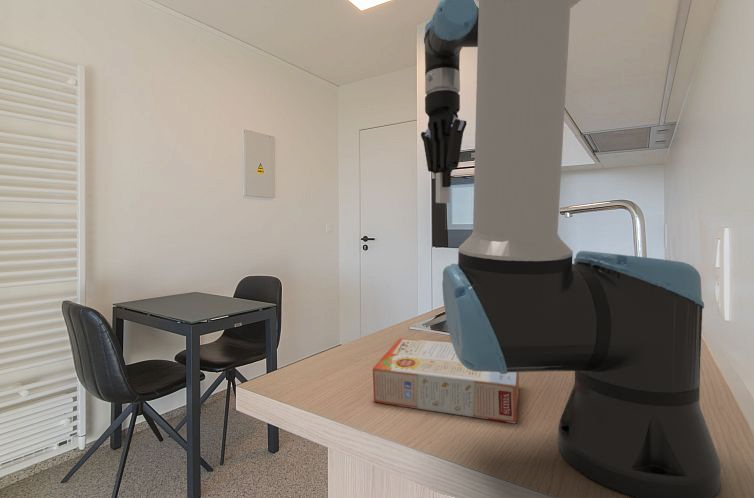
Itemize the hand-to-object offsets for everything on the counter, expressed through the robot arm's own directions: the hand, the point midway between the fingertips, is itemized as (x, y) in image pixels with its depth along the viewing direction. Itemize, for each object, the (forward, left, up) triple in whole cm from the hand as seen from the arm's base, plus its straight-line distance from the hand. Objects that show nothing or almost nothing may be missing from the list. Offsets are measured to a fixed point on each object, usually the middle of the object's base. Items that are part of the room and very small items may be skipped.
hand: (442, 202), depth 87 cm
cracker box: (-12, +23, -29) cm, 39 cm away
